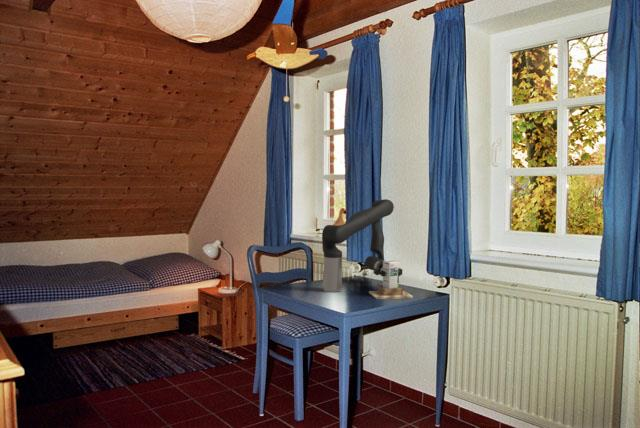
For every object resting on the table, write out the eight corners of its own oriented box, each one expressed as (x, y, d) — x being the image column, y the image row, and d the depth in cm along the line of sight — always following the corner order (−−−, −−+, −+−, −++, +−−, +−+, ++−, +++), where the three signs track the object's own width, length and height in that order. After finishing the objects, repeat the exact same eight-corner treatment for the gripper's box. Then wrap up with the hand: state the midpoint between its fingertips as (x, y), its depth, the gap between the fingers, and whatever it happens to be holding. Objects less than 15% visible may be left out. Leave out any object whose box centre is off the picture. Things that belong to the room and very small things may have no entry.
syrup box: (389, 292, 261) (389, 262, 260) (382, 289, 266) (382, 260, 265) (398, 291, 264) (399, 261, 263) (391, 288, 269) (392, 259, 268)
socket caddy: (376, 298, 257) (376, 290, 257) (368, 293, 271) (369, 284, 270) (412, 298, 260) (412, 289, 259) (403, 292, 273) (403, 284, 273)
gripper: (369, 261, 277) (378, 266, 261) (396, 260, 280) (406, 266, 263) (369, 275, 278) (377, 282, 262) (396, 275, 280) (406, 281, 264)
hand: (392, 274), depth 262 cm, fingers closed on syrup box, 7 cm apart
